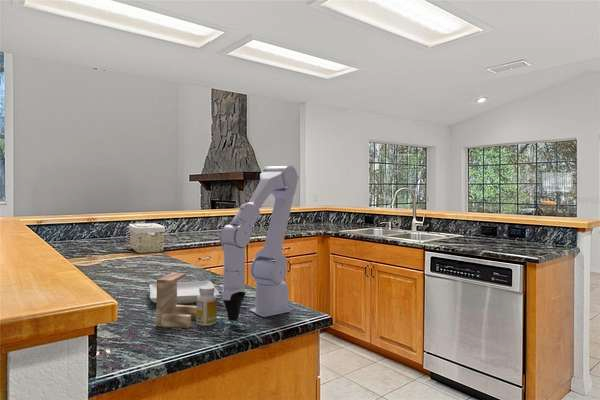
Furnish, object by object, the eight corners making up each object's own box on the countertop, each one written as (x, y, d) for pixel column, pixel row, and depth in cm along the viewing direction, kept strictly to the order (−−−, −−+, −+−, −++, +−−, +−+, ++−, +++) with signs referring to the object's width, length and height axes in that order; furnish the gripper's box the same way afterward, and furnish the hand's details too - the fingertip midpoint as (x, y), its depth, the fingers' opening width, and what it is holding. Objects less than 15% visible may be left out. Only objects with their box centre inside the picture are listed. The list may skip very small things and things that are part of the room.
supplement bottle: (218, 319, 113) (218, 285, 113) (214, 326, 108) (215, 289, 108) (198, 319, 113) (199, 284, 113) (194, 326, 108) (194, 289, 108)
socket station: (202, 316, 116) (202, 273, 115) (188, 327, 106) (189, 281, 106) (172, 314, 117) (172, 272, 117) (156, 325, 107) (156, 279, 107)
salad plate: (210, 288, 150) (210, 279, 150) (220, 303, 130) (220, 293, 130) (148, 292, 143) (148, 282, 143) (149, 309, 123) (149, 298, 123)
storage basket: (165, 252, 232) (166, 226, 232) (135, 254, 223) (135, 227, 223) (155, 246, 252) (156, 223, 252) (127, 248, 244) (128, 223, 243)
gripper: (227, 264, 117) (226, 311, 117) (210, 274, 103) (209, 327, 103) (251, 265, 116) (250, 312, 116) (237, 275, 102) (236, 329, 102)
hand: (233, 320), depth 110 cm, fingers closed
